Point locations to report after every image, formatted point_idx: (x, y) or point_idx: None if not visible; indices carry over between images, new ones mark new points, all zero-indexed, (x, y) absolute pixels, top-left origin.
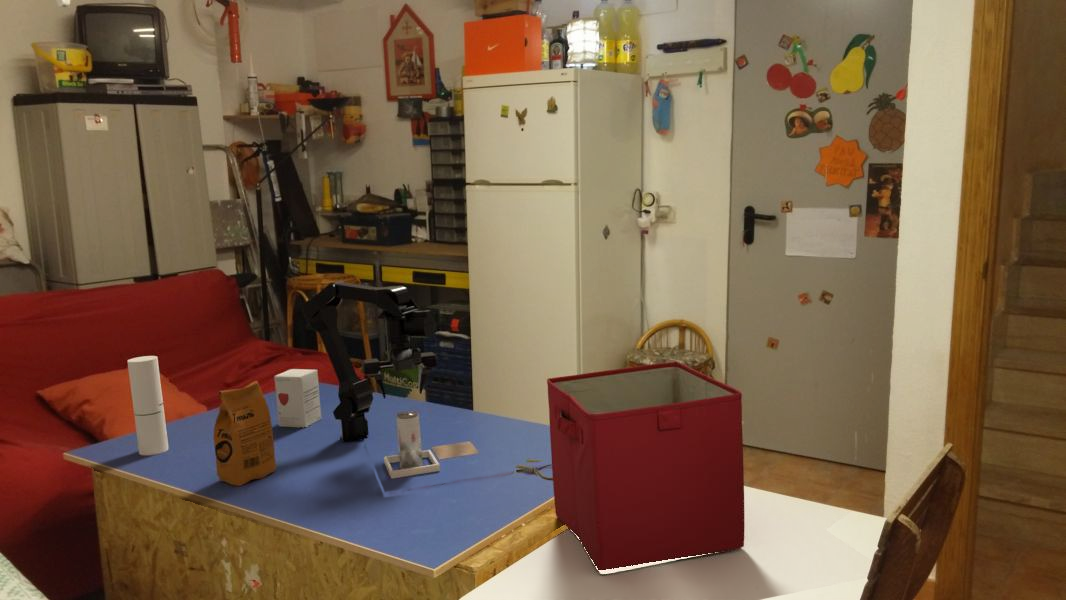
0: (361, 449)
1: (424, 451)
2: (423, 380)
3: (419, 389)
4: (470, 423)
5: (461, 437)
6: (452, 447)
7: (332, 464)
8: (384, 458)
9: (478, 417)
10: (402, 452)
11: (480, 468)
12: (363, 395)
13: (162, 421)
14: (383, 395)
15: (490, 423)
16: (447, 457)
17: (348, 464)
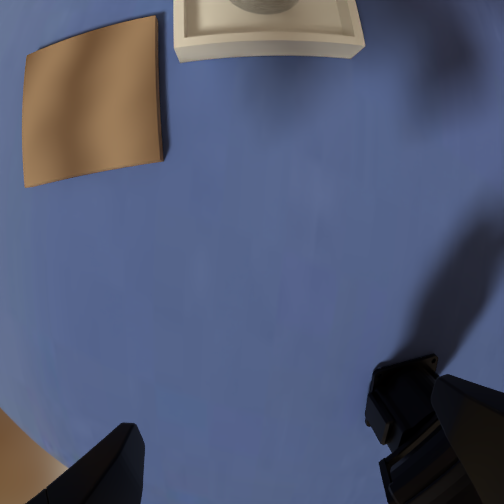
0: (408, 280)
1: (200, 36)
2: (47, 500)
3: (128, 453)
4: (49, 401)
5: (54, 285)
6: (83, 130)
7: (482, 170)
8: (362, 35)
9: (42, 430)
10: None
11: None
12: (458, 466)
13: None
14: (464, 382)
15: (2, 373)
16: (123, 27)
17: (450, 145)
